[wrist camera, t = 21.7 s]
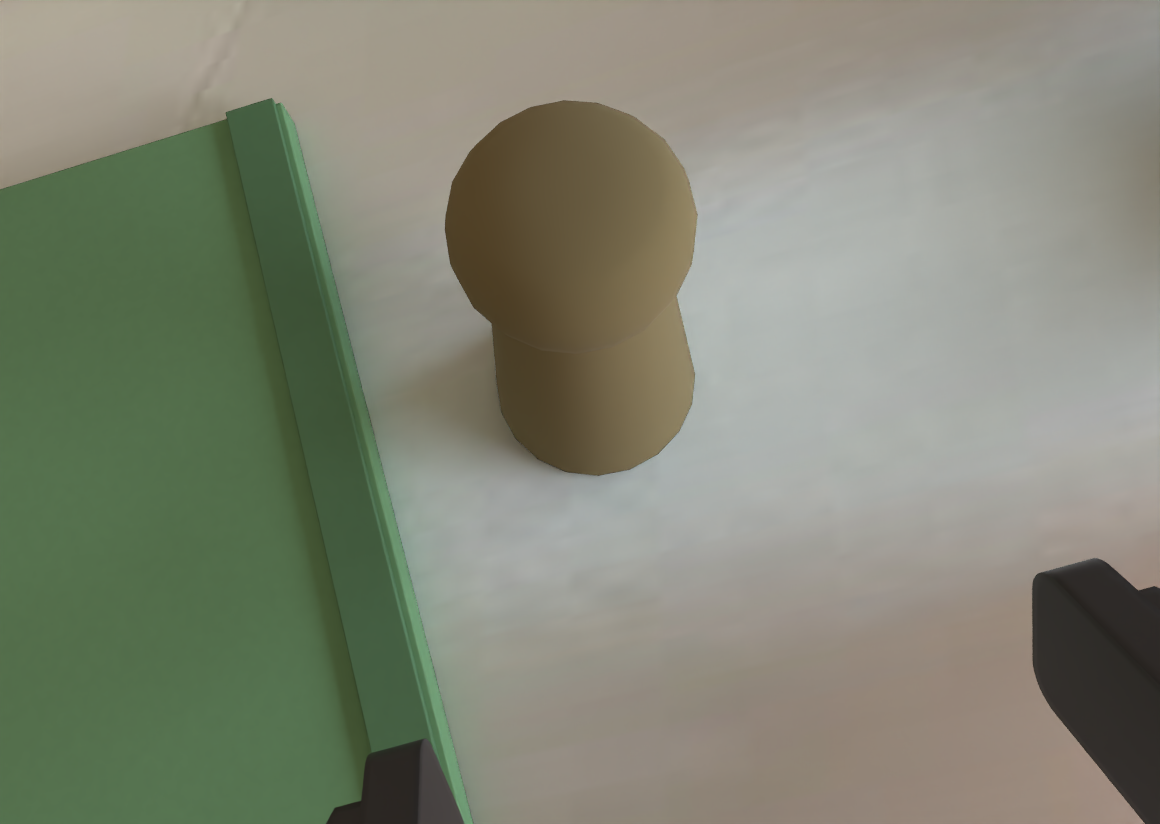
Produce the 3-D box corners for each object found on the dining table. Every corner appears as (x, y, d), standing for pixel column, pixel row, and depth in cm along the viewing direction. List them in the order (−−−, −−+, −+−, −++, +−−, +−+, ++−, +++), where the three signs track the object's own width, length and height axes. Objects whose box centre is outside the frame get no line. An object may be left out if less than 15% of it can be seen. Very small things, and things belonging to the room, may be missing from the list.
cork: (496, 479, 27) (401, 338, 17) (496, 293, 29) (411, 60, 18) (701, 471, 27) (736, 321, 16) (688, 283, 29) (712, 40, 18)
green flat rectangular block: (-74, 237, 31) (-108, 215, 30) (294, 123, 31) (277, 95, 30) (1, 1021, 24) (-41, 1041, 22) (482, 858, 24) (472, 867, 23)
